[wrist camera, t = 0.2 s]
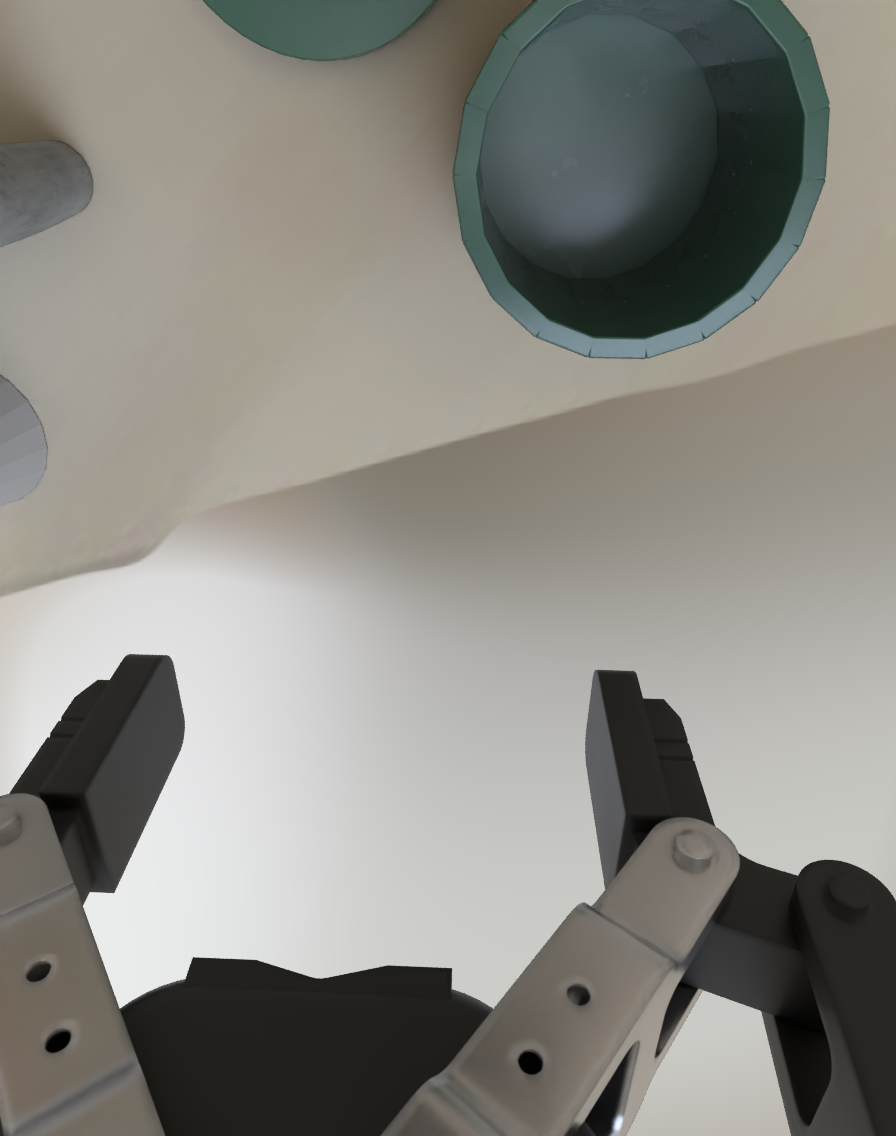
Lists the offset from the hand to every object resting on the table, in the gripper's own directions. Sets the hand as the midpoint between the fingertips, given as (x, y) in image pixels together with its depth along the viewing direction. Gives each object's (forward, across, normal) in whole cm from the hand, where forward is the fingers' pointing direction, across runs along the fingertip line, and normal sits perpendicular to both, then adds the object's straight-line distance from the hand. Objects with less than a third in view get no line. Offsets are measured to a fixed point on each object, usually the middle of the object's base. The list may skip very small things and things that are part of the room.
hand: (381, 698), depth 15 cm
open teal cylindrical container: (+29, -7, -8) cm, 31 cm away
